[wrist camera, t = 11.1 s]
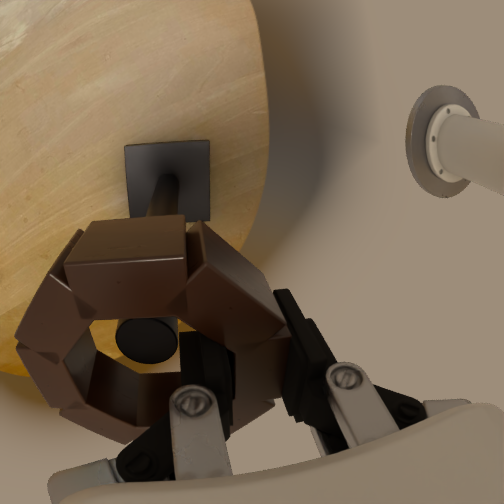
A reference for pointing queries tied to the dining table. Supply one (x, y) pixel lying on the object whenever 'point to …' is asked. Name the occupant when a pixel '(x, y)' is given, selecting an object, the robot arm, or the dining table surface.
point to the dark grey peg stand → (161, 204)
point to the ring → (149, 306)
